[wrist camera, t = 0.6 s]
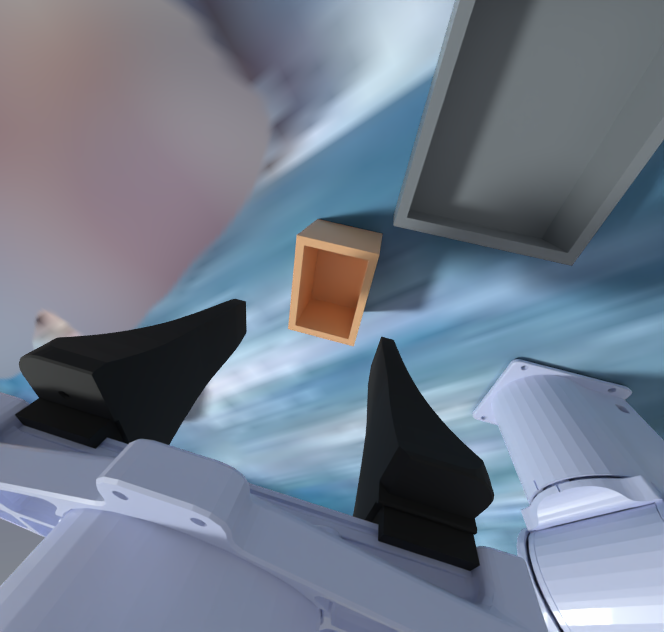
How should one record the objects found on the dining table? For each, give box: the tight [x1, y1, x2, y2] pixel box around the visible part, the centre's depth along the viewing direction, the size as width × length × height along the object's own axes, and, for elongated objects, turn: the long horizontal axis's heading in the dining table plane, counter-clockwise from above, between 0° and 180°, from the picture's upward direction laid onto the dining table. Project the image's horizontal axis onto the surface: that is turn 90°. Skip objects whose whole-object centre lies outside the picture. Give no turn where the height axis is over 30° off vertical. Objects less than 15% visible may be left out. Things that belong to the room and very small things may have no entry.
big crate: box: [394, 0, 664, 266], centre depth 13 cm, size 10×12×4 cm
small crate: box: [288, 219, 382, 346], centre depth 19 cm, size 5×7×5 cm
